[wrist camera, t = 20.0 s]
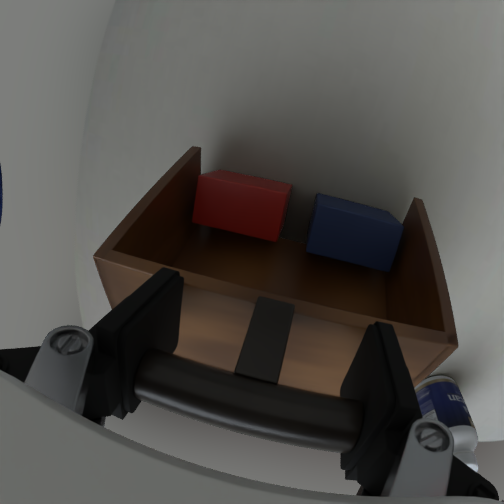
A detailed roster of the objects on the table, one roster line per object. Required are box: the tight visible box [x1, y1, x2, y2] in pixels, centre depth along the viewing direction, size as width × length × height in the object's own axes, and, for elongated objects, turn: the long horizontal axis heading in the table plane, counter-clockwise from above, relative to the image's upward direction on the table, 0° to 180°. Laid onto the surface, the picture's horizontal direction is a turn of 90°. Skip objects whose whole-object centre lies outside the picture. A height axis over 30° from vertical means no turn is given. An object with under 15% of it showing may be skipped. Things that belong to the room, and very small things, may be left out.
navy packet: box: [306, 193, 404, 272], centre depth 18 cm, size 5×4×3 cm
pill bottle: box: [414, 376, 478, 472], centre depth 19 cm, size 5×5×10 cm
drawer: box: [93, 146, 458, 453], centre depth 14 cm, size 14×14×7 cm
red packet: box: [192, 170, 292, 242], centre depth 19 cm, size 5×4×3 cm
